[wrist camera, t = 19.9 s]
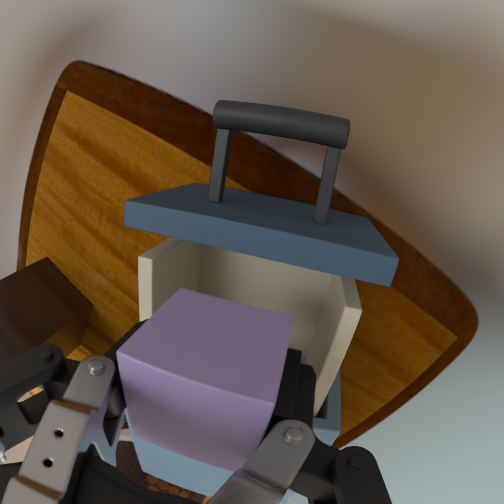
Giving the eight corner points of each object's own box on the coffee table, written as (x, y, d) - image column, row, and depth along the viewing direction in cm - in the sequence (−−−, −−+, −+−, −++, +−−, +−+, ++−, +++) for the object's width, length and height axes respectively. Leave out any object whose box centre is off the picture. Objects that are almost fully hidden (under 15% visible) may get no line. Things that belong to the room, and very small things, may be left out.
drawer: (205, 110, 17) (137, 87, 10) (383, 141, 15) (429, 130, 8) (182, 344, 23) (138, 406, 16) (314, 379, 22) (306, 456, 14)
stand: (46, 256, 26) (-95, 337, 7) (93, 304, 26) (-50, 421, 7) (38, 301, 29) (-72, 380, 10) (79, 345, 29) (-28, 445, 10)
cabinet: (182, 293, 23) (114, 365, 14) (338, 332, 21) (341, 432, 12) (180, 406, 28) (142, 471, 19) (292, 437, 26) (277, 512, 17)
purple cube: (180, 286, 11) (114, 351, 7) (293, 315, 10) (275, 405, 6) (178, 368, 13) (133, 435, 9) (270, 395, 12) (248, 476, 8)
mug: (246, 459, 29) (211, 558, 15) (197, 481, 35) (164, 551, 21) (109, 371, 29) (33, 454, 15) (92, 413, 35) (41, 475, 21)
